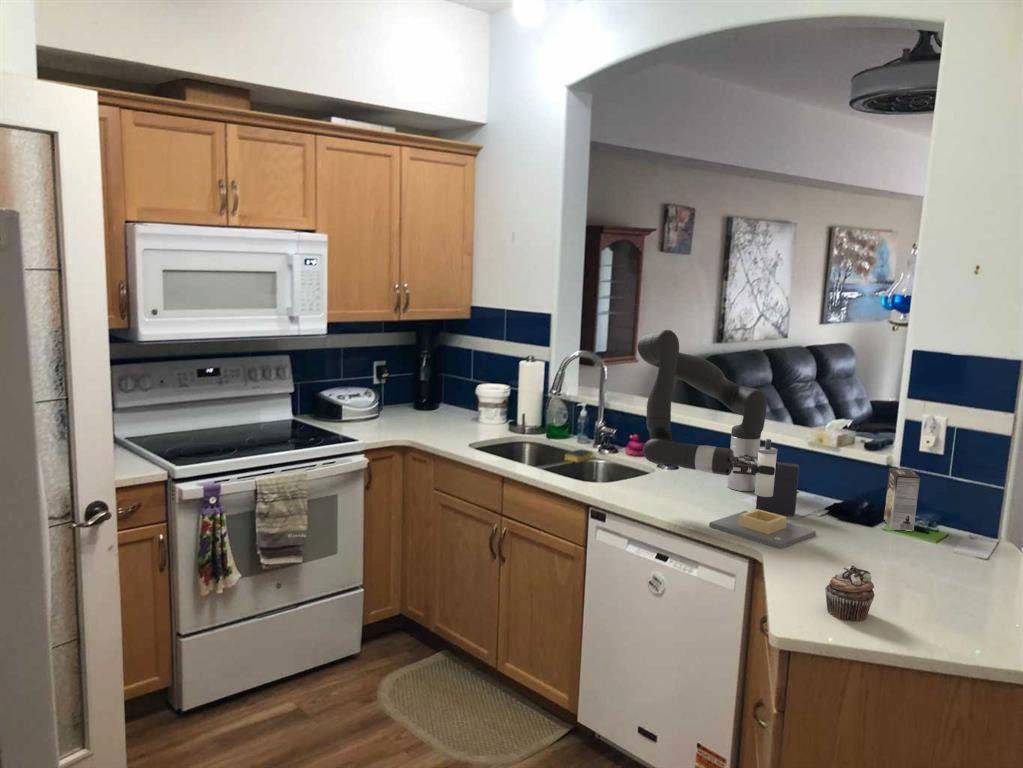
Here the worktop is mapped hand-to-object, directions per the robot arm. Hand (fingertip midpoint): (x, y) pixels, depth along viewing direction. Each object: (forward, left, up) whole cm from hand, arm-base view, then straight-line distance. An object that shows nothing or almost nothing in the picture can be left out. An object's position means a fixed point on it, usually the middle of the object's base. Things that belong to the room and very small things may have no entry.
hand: (776, 469), depth 223 cm
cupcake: (+35, +39, -18) cm, 55 cm away
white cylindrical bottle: (+1, -2, -7) cm, 8 cm away
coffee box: (-35, +20, -18) cm, 44 cm away
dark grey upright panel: (-18, -9, -18) cm, 27 cm away
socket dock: (+1, -2, -18) cm, 18 cm away
